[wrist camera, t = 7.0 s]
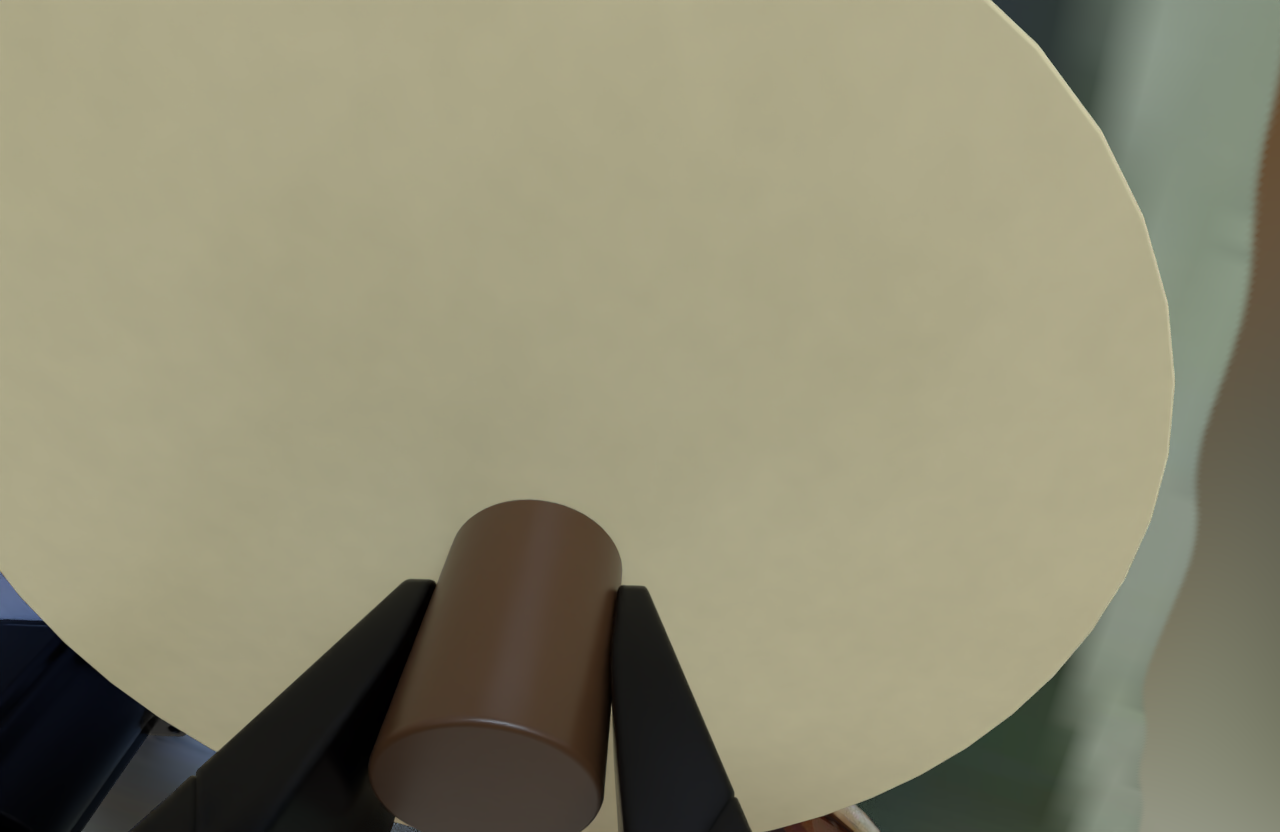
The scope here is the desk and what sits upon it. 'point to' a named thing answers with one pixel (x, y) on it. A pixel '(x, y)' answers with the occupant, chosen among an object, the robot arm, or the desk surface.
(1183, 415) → the desk surface
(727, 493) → the cooker lid
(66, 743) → the robot arm
